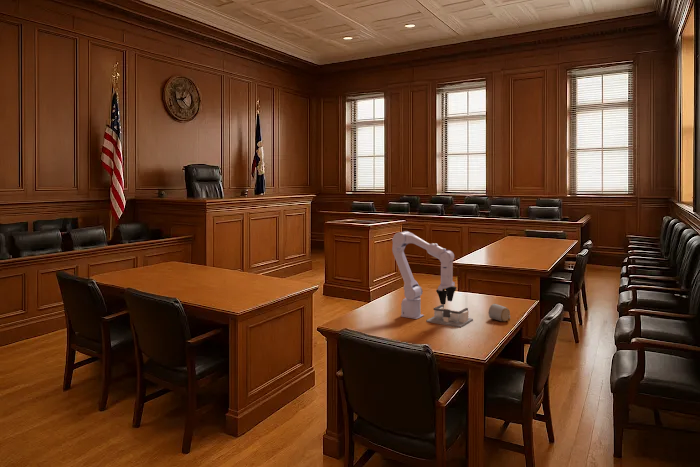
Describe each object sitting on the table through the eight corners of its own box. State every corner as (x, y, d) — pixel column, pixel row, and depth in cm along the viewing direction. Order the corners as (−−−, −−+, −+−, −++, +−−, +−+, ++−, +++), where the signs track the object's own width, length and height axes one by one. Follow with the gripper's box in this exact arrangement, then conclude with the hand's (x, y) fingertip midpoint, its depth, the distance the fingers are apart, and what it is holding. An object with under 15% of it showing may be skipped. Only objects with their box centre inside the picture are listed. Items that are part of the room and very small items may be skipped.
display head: (460, 327, 241) (460, 316, 241) (426, 321, 252) (426, 310, 251) (473, 320, 253) (473, 309, 253) (439, 315, 264) (440, 304, 263)
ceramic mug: (501, 323, 248) (502, 307, 247) (487, 319, 254) (488, 304, 253) (514, 319, 254) (515, 304, 254) (500, 316, 261) (501, 301, 260)
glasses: (459, 322, 245) (459, 312, 244) (433, 317, 253) (433, 308, 253) (467, 317, 253) (467, 307, 252) (442, 313, 261) (442, 303, 261)
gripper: (447, 278, 242) (447, 306, 243) (460, 273, 254) (460, 300, 255) (434, 277, 246) (433, 304, 248) (447, 272, 258) (447, 298, 259)
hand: (446, 302), depth 252 cm, fingers open, 7 cm apart
